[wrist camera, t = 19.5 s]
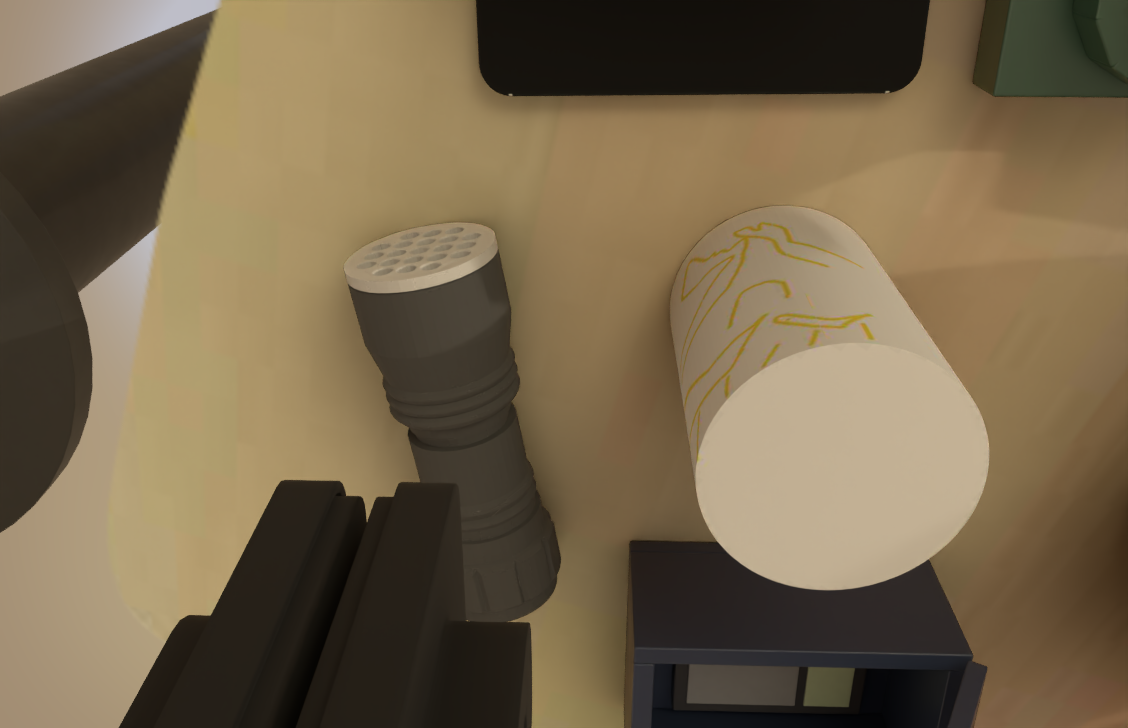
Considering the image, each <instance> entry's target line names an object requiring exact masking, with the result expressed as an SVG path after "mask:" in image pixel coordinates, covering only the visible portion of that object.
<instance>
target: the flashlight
mask: <svg viewBox="0 0 1128 728" xmlns="http://www.w3.org/2000/svg"><path fill="white" fill-rule="evenodd" d="M344 272H345V276H346V279H347V283H348V286H349V289H350V293H351V297H352V300H353V304H354V307H355V311H356V314H357V318H358V322H359V325H360V329H361V332H362V336H363V339H364V343H365V346H366V347H367V349H368V351H369V352H370V354H371V356H372V357H373V359H374V361H375V362H376V364H377V366H378V367H379V369H380V371H381V373H382V374H383V387H384V389H385V390H386V397H387V401H388V402H389V404H390V407H389V408H390V412H391V414H392V415H393V417H394V418H395V419H396V420H397V421H398V422H400V423H402V424H403V425H405V426H407V427H409V430H408V437H409V441H410V445H411V448H412V452H413V456H414V459H415V463H416V467H417V470H418V474H419V478H420V481H421V483H457V485H458V488H459V494H460V509H461V528H462V548H463V567H464V587H465V607H466V620H468V621H476V622H508V621H512V620H515V619H518V618H521V617H523V616H525V615H527V614H529V613H531V612H533V611H535V610H536V609H537V608H539V607H540V606H542V605H543V604H544V603H545V602H546V601H547V600H548V599H549V597H550V596H551V595H552V593H553V591H554V589H555V587H556V584H557V574H558V571H559V568H560V563H561V556H560V551H559V546H558V541H557V537H556V532H555V527H554V523H553V521H552V520H551V518H550V514H549V512H548V511H547V510H546V509H545V508H544V507H543V506H542V504H541V500H540V495H539V493H538V491H537V490H536V481H535V479H534V477H533V475H534V473H533V468H532V466H531V464H530V462H529V461H528V460H527V458H526V453H525V449H524V444H523V440H522V435H521V431H520V426H519V422H518V417H517V413H516V409H515V407H514V405H513V404H512V403H511V401H512V400H513V398H514V397H515V395H516V394H517V392H518V389H519V385H520V378H519V376H518V374H517V365H516V363H515V361H514V358H515V356H514V352H513V350H512V348H511V346H510V326H511V307H510V302H509V297H508V293H507V288H506V283H505V279H504V274H503V269H502V265H501V260H500V255H499V250H498V245H497V240H496V236H495V233H494V231H493V230H492V229H490V228H489V227H486V226H484V225H480V224H477V223H467V222H454V223H441V224H434V225H428V226H422V227H416V228H412V229H408V230H404V231H400V232H397V233H394V234H391V235H389V236H386V237H383V238H381V239H378V240H375V241H373V242H371V243H369V244H367V245H365V246H363V247H362V248H360V249H358V250H357V251H356V252H354V253H353V254H352V255H351V256H350V257H349V258H348V259H347V260H346V262H345V263H344Z"/></svg>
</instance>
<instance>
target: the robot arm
mask: <svg viewBox="0 0 1128 728" xmlns="http://www.w3.org/2000/svg"><path fill="white" fill-rule="evenodd" d="M531 726H532V651H531V628H530V623H522V622H476V621H466V607H465V587H464V567H463V548H462V528H461V509H460V494H459V488H458V485H457V483H417V482H401V483H399V484H398V487H397V489H396V492H395V495H394V497H377V498H376V500H375V502H374V505H373V508H372V510H371V513H370V516H369V519H368V522H367V520H366V511H365V504H364V501H363V498H362V497H361V496H346V493H345V489H344V486H343V484H342V483H341V482H340V481H307V480H284V481H281V482H280V483H279V485H278V486H277V487H276V489H275V491H274V493H273V495H272V497H271V499H270V501H269V503H268V505H267V507H266V509H265V511H264V513H263V515H262V517H261V519H260V521H259V523H258V525H257V527H256V528H255V530H254V532H253V534H252V536H251V538H250V540H249V542H248V544H247V546H246V548H245V550H244V552H243V554H242V556H241V558H240V560H239V562H238V564H237V566H236V568H235V569H234V571H233V573H232V575H231V577H230V579H229V581H228V583H227V585H226V587H225V589H224V591H223V593H222V595H221V597H220V599H219V601H218V603H217V605H216V607H215V609H214V610H213V612H212V614H211V616H201V615H188V616H187V617H185V618H183V619H181V620H180V621H179V622H178V624H177V625H176V627H175V628H174V629H173V631H172V632H171V634H170V636H169V638H168V639H167V641H166V643H165V645H164V647H163V648H162V650H161V652H160V654H159V656H158V658H157V659H156V661H155V663H154V665H153V667H152V669H151V670H150V672H149V674H148V676H147V677H146V679H145V681H144V683H143V685H142V687H141V688H140V690H139V692H138V694H137V696H136V698H135V699H134V701H133V703H132V705H131V706H130V708H129V710H128V712H127V714H126V716H125V717H124V719H123V721H122V723H121V725H120V726H119V728H531Z"/></svg>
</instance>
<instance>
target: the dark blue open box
mask: <svg viewBox="0 0 1128 728" xmlns="http://www.w3.org/2000/svg"><path fill="white" fill-rule="evenodd" d="M972 659H973V653H972V651H971V649H970V647H969V645H968V643H967V640H966V638H965V636H964V634H963V632H962V630H961V628H960V625H959V623H958V621H957V619H956V617H955V615H954V613H953V610H952V608H951V606H950V604H949V602H948V600H947V597H946V595H945V593H944V591H943V589H942V587H941V585H940V582H939V580H938V578H937V576H936V574H935V572H934V570H933V567H932V565H931V563H930V561H929V559H928V560H927V561H925V562H924V563H922V564H920V565H919V566H917V567H915V568H913V569H911V570H909V571H907V572H905V573H903V574H901V575H899V576H896V577H894V578H891V579H889V580H886V581H883V582H880V583H876V584H873V585H868V586H864V587H858V588H852V589H843V590H814V589H805V588H798V587H794V586H789V585H785V584H782V583H778V582H776V581H773V580H770V579H768V578H765V577H763V576H761V575H759V574H757V573H755V572H753V571H751V570H750V569H748V568H747V567H745V566H744V565H742V564H741V563H739V562H738V561H737V560H735V559H734V558H733V557H732V556H731V555H730V554H729V553H728V552H727V551H726V550H725V549H724V548H723V547H722V546H721V545H720V544H719V543H703V542H652V541H630V544H629V572H628V601H627V630H626V658H625V687H624V728H947V727H948V723H949V720H950V717H951V714H952V710H953V707H954V704H955V701H956V697H957V694H958V691H959V688H960V684H961V681H962V678H963V675H964V672H965V668H966V665H967V662H968V661H972ZM673 664H694V665H738V666H782V667H826V668H867V672H866V678H865V684H864V690H863V696H862V702H861V708H860V713H859V714H858V715H856V714H814V713H773V712H731V711H690V710H673V709H672V701H671V686H672V670H673Z"/></svg>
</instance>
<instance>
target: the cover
mask: <svg viewBox="0 0 1128 728" xmlns="http://www.w3.org/2000/svg"><path fill="white" fill-rule="evenodd" d="M986 673H987V666H984V665H981V664H978V663H975V662H972V661H968V662H967V665H966V668H965V672H964V675H963V678H962V681H961V684H960V688H959V691H958V694H957V697H956V701H955V704H954V707H953V710H952V714H951V717H950V720H949V723H948V727H947V728H974V724H975V720H976V715H977V711H978V707H979V702H980V698H981V694H982V690H983V685H984V681H985V677H986Z"/></svg>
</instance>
